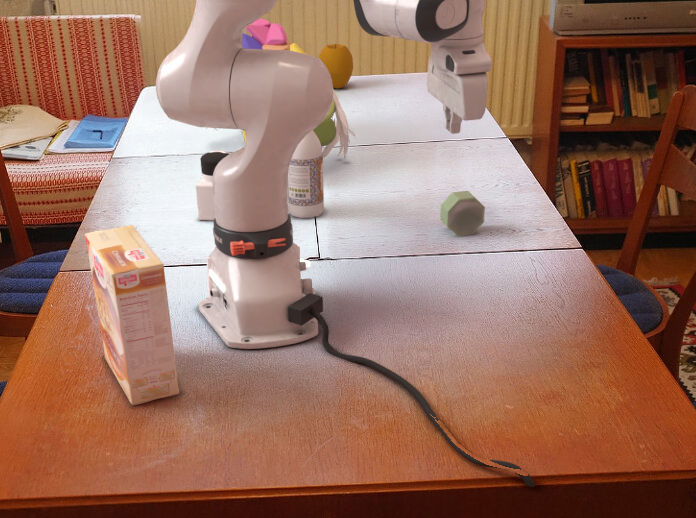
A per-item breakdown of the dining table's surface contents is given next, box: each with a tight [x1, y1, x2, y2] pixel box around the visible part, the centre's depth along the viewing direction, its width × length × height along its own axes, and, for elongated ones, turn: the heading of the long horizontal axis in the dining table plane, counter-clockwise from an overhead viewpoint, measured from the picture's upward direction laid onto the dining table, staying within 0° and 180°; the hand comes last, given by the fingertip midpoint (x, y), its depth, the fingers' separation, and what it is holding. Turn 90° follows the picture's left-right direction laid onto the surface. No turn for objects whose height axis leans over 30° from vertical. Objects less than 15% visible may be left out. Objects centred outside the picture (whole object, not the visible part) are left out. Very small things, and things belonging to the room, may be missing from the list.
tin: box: [440, 190, 486, 237], centre depth 175 cm, size 4×7×7 cm, turn 102°
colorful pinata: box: [213, 17, 356, 160], centre depth 214 cm, size 32×29×35 cm
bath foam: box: [287, 130, 325, 219], centre depth 182 cm, size 7×7×20 cm
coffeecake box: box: [84, 224, 180, 406], centre depth 132 cm, size 15×7×20 cm, turn 23°
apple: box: [318, 42, 354, 89], centre depth 262 cm, size 10×10×12 cm
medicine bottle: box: [195, 150, 231, 222], centre depth 185 cm, size 7×7×12 cm
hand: (452, 131), depth 174 cm, fingers closed
